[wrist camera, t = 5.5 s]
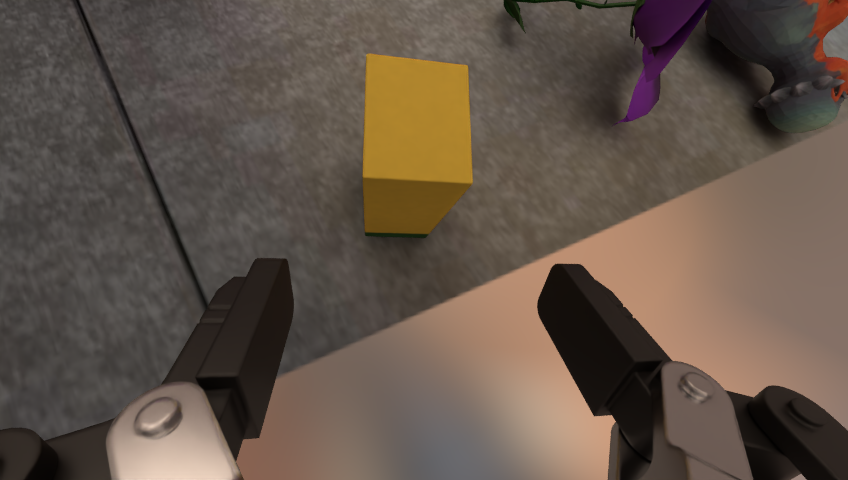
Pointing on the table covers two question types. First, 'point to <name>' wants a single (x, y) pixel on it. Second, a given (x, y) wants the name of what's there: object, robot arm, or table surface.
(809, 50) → the toy
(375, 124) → the sponge
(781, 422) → the robot arm
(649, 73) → the flower
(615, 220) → the table surface
